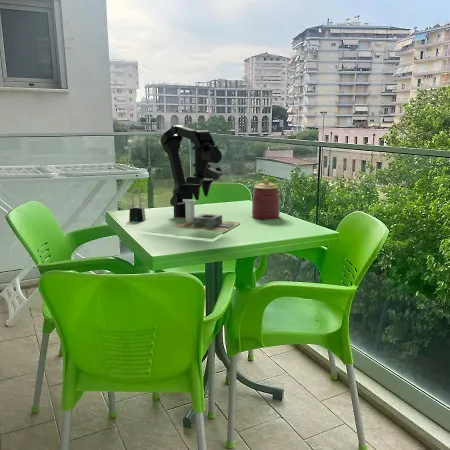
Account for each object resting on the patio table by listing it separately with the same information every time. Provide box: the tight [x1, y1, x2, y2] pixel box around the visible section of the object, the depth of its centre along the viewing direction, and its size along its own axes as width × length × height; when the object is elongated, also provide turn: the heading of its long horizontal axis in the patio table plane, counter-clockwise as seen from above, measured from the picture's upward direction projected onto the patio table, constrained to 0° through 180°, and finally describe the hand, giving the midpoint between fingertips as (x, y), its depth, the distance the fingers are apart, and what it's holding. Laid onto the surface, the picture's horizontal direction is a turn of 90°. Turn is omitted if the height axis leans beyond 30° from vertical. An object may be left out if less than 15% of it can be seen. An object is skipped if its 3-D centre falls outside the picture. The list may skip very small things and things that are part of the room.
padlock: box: [128, 187, 147, 222], centre depth 187 cm, size 7×4×15 cm, turn 86°
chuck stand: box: [172, 213, 241, 235], centre depth 175 cm, size 23×18×4 cm
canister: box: [251, 179, 281, 220], centre depth 193 cm, size 13×13×18 cm
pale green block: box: [183, 199, 198, 224], centre depth 178 cm, size 6×3×10 cm, turn 67°
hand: (201, 198), depth 177 cm, fingers open, 9 cm apart
